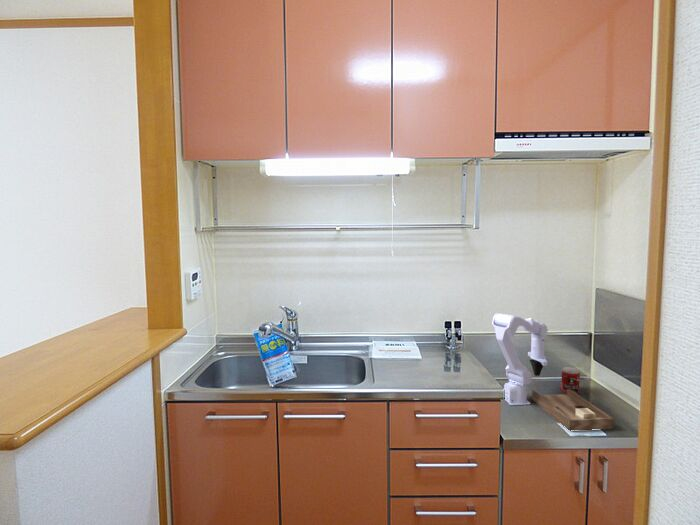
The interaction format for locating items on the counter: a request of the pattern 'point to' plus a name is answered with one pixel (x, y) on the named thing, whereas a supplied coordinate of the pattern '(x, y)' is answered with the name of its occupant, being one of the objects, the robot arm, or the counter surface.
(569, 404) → the trough
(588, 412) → the block
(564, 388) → the canned food
